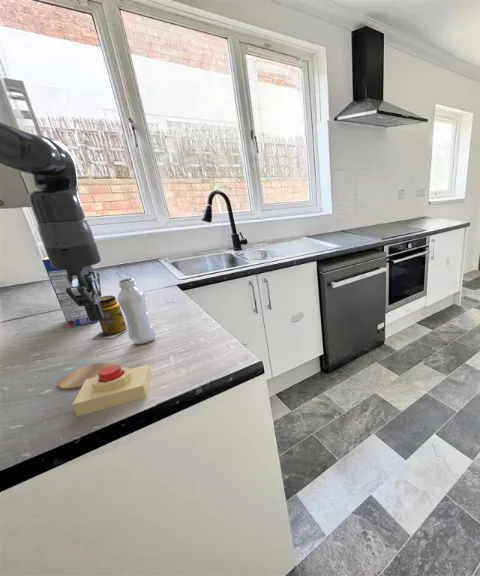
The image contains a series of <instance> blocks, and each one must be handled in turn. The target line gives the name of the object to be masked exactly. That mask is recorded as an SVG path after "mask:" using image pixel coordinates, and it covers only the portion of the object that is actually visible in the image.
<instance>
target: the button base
mask: <svg viewBox="0 0 480 576" xmlns="http://www.w3.org/2000/svg"><path fill="white" fill-rule="evenodd" d="M121 369H122V372H123V375H122V376H120V377H119V378H117V379H115V380H112V381H108V382H101V381H100V379H99V376H96V377H94V378H90V379H86V380H85V382H84V384H83V386H82V388H79V391H78V393H77V395H76V397H75V398H74V400H73V402H72V403H71V405H72V408H73V410H74V413H75V414H76V417H82V416H84V415H89V414H92V413H94V412H95V413H96V412H99V411H102V410H106V409H109V408H112V407H117V406H120V405H124V404H127V403H130V402H134V401H137V400H141V399H145V398H147V397H148V393H149V389H150V384H151V380H152V376H153V374H152V372H151V368H150V365H149V364H145V365H144V364H143V365H141V366H140V365H139V366H137V367H132V368H130V367H127V366H126V367H125V366H124V367H123V366H121Z"/></svg>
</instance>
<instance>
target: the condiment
mask: <svg viewBox="0 0 480 576" xmlns="http://www.w3.org/2000/svg"><path fill="white" fill-rule="evenodd" d="M99 298H100V302H99V303H100V306H101V309H102V312H103V315H104V317H103V318H102V320H99V321H98V322H99V325H100V328H101V332H99V333H97V334H96V335H94V336H91V339H99V340H102V339H104V340H105V339H114V338H116V337H119V335H122V334H123V333H125V332H127V331H129V329H128V325H127V324H126V321H125V317H124V314H123V311H122V308H121V306H120V304H119V302H118V300H117V299H116V296H115V295H104V296H101V297H99Z"/></svg>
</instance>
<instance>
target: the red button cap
mask: <svg viewBox="0 0 480 576" xmlns="http://www.w3.org/2000/svg"><path fill="white" fill-rule="evenodd" d="M121 367H122V366H121V365H120V364H115V365H111V366H108V367H105V368H103V369H101V370H100V371H99V372H98V376H99V379H100V381H101V382H108V381H112V380H115V379H117V378H119V377H120V376H122V375H123V372H122V369H121Z"/></svg>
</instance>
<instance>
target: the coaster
mask: <svg viewBox="0 0 480 576" xmlns="http://www.w3.org/2000/svg"><path fill="white" fill-rule="evenodd" d="M111 365H116V363H114V362H111V361H110V362H108V361H105V362H104V361H103V362H96V363H92V364H89V365H85V366H82V367H79V368H77V369H75V370H73V371H71V372H69V373H66V374H65V375H64V376H62V377H61V378H60V380H59V381H58V382H57V385H58V388H59V389H61V390H67V391H69V390H77V389H79V390H80V389H81V388H82V386H83V384H84V382H85V380H86V379H90V378H94V377H96V376H98V372H99V371H100V370H101V369H103V368H105V367H108V366H111Z"/></svg>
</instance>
